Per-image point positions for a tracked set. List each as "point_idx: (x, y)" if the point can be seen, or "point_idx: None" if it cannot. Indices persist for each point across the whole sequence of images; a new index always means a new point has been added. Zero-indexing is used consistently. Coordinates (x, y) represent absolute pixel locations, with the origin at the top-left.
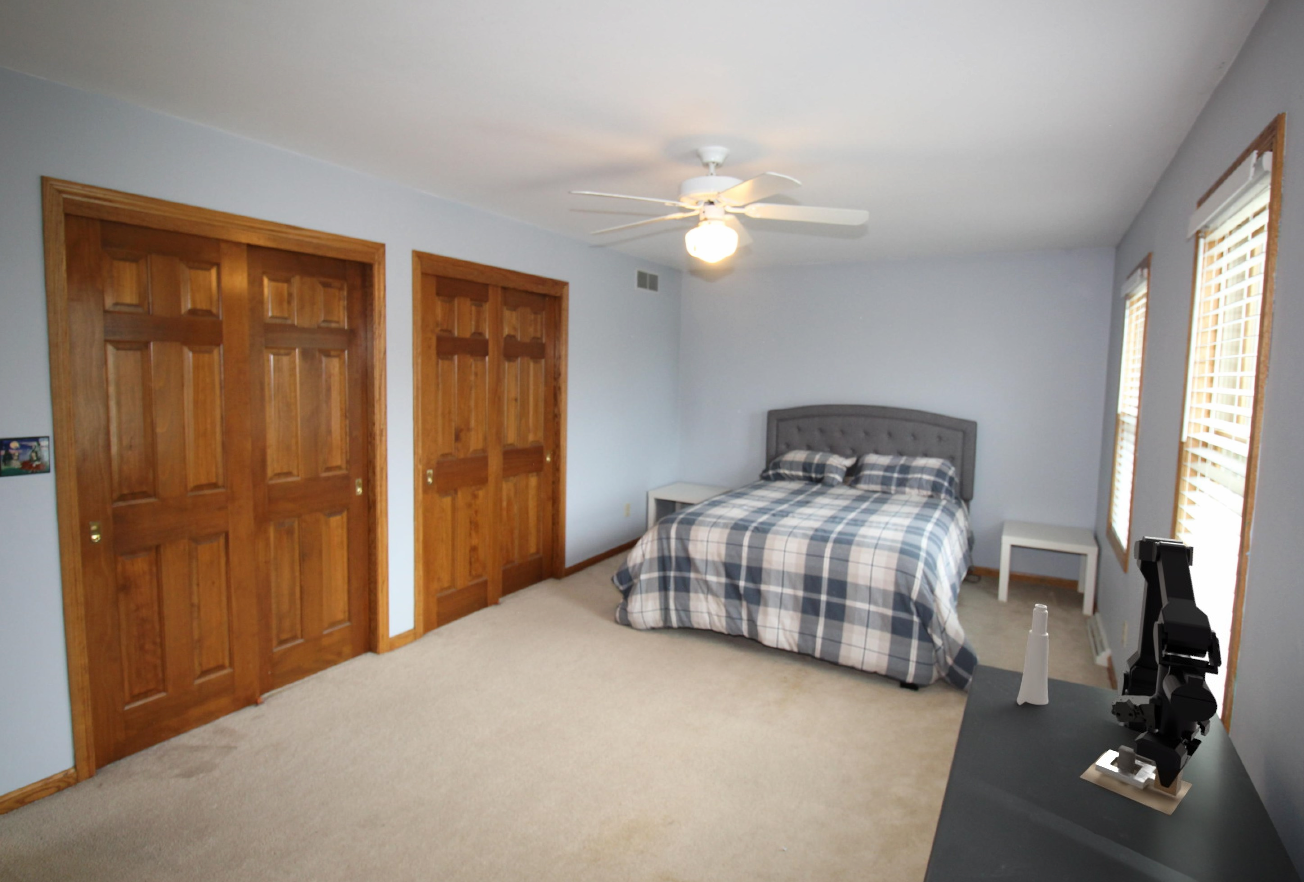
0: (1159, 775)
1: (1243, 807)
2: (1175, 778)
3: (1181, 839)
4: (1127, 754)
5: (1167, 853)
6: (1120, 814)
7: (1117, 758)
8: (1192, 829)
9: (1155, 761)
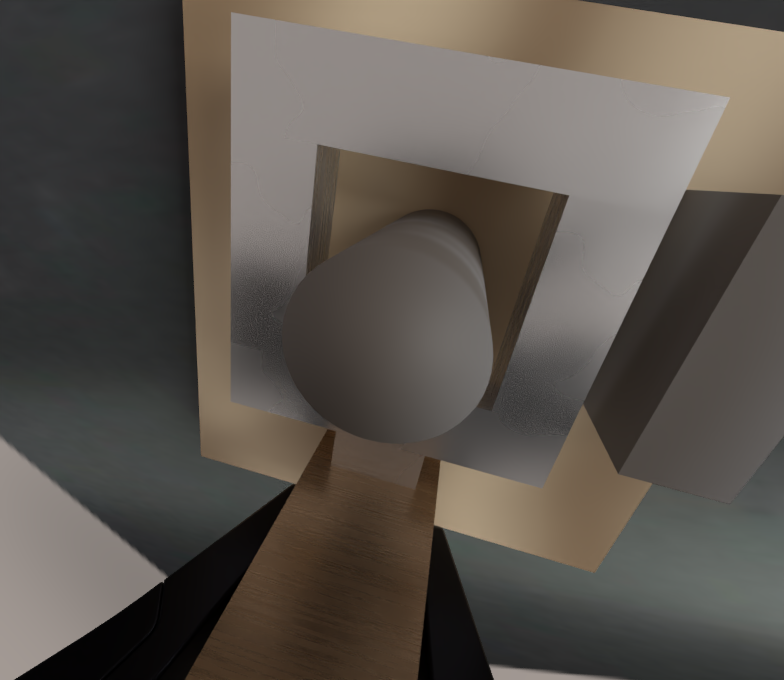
0: (232, 534)
1: (566, 652)
2: None
3: (163, 452)
4: (292, 351)
5: (42, 408)
6: (130, 256)
7: (557, 205)
8: (260, 490)
9: (73, 645)
